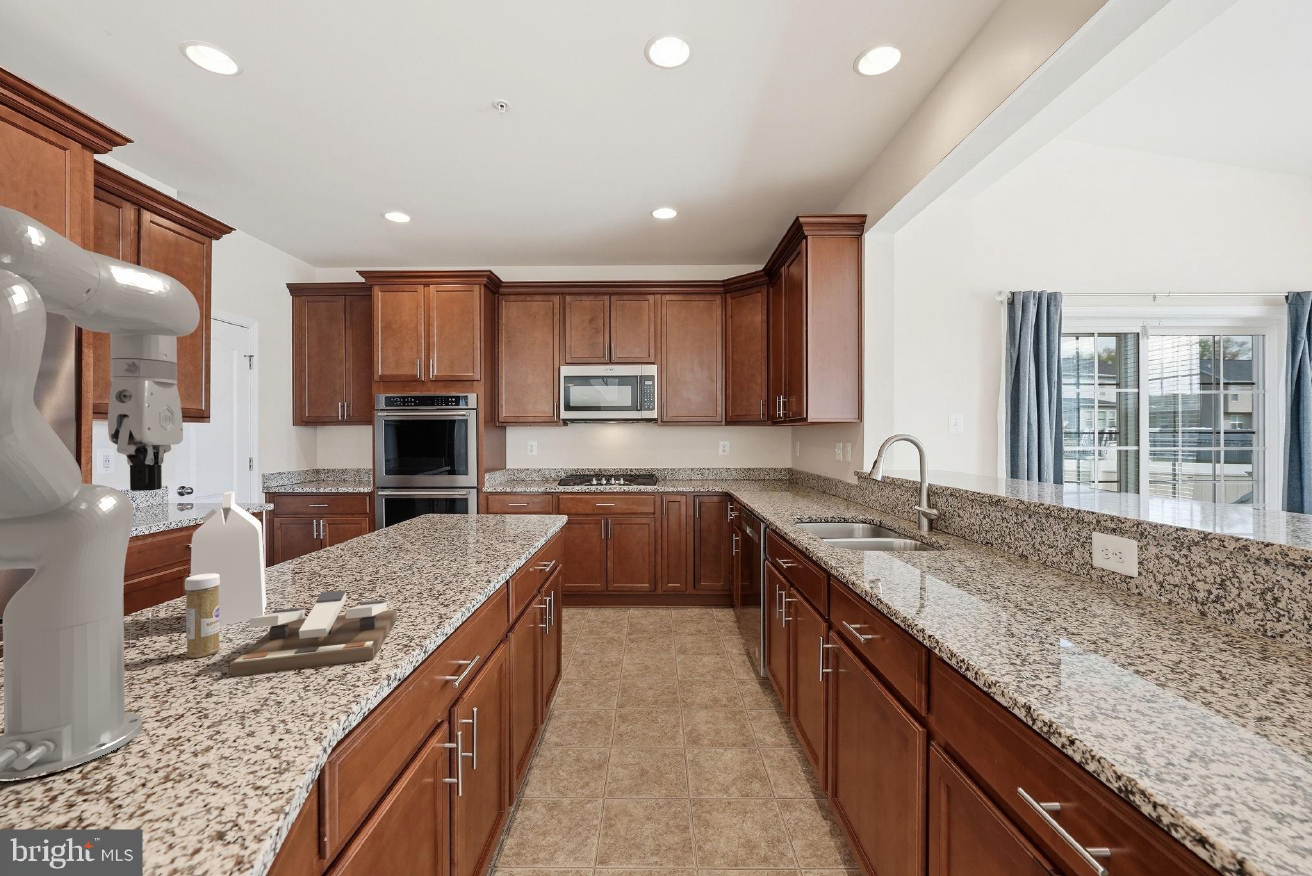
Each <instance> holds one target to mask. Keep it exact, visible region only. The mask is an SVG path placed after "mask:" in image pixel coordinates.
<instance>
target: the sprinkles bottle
mask: <svg viewBox="0 0 1312 876" xmlns="http://www.w3.org/2000/svg"><path fill="white" fill-rule="evenodd" d="M219 584H220V575H219V574H216V573H209V574H200V575H195V576H191V575H190V576H189V577H186V578H185V579H184V590H185V592H186V593H185V595H186V599H185V600H186V604H185V605H186V606H185V629H186V630H185V632H186V633H185V636H186V637H185V638H186V654H185V657H187V658H189V659H196V658H205V657H208V656H211V655H214V654H216V653H217V652H219V651H220V650H221V645H220V629H221V628H220V627H221V626H220V619H219V592H218V591H219V590H218V587H219Z"/></svg>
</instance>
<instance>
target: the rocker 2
mask: <svg viewBox="0 0 1312 876" xmlns="http://www.w3.org/2000/svg"><path fill="white" fill-rule="evenodd" d="M387 607H388V599H382V600H380V599H379V600H371V601H363V602H360V603H359V605H357V606H353V607H350V608H346V609H345V615H346V619H347V618H358V617H368V616H373V615H376V614H378V613H381V612H383V611H388V608H387Z"/></svg>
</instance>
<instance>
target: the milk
mask: <svg viewBox="0 0 1312 876" xmlns="http://www.w3.org/2000/svg"><path fill="white" fill-rule="evenodd" d="M235 494H236V492H235V491H226V492H224V493H223V494H222V505H221V508H220V509H219V510H215V508H212V509H210V510H209V512H207V513H206V514H205V515H204V516H203V517H202V518H201V519H200V520H201V521H202V522H204V523H202V524H201V525H200V526H199V527H198V528H197V529H196V530H195V531H194V532H193V533H192V537H191V547H190V549H191V551H190V552H191V553H190V554H191V555H190V577H191V576H195V575H200V574H209V573H216V574H219V575H220V584H219V587H218V590H219V591H218V592H219V619H220V627H223V626H222V625H226V624H232V623H238V624H240V623H239V622H242V621H249V620H250V618H253V617H258V616H262V615H265V614H264V612H265V613H266V609H265V607H266V608H267V593H266V590H267V588H266V576H265V558H264V557H265V555H264V541H263V540H264V539H263V526H262V522H261V521H260V520H259V519H258V518H256V517H255V516H254V515H252V514H251V513H250V512H248V511H246V510H245V509H244V508H242V507H240V506H239V505H238V504H236V495H235ZM232 625H233V624H232ZM226 626H227V625H226Z"/></svg>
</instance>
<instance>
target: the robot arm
mask: <svg viewBox="0 0 1312 876" xmlns="http://www.w3.org/2000/svg"><path fill="white" fill-rule="evenodd" d="M47 312H48V313H51V314H55V315H61V316H65V317H66V318H67V319H68V321H69V322H71V323H72V324H74V325H75V326H77V327H79V328H81V329H84V330H87V331H90V332H94V333H95V332H96V333H106V334H109V340H110V341H109V342H110V343H109V345H110V347H109V348H110V349H109V350H110V352H109V354H110V357H109V359H110V360H109V361H110V362H109V363H110V365H109V367H110V368H109V369H110V382H111V385H110V393H109V398H108V399H109V401H108V411H107V430H108V432H107V433H108V439H109V441H110V442H111V443H113V444H114V445H116V452H117V453H118V454H122V455H125V456H126V461H127V462H126V463H127V465H128V466H129V489H130V491H132V492H139V491H140V492H141V491H142V492H143V491H157V490H161V489H162V487H163V486H162V483H163V480H162V478H163V477H162V476H163V475H162V474H163V473H162V465H163V463H164V461H165V459H164V457H165V454H167V453H168V452H171V450H172V445H173V446H175V445H179V444H180V443H182V442H183V440H184V427H183V414H182V412H183V411H182V404H181V397H180V394H179V390H178V347H177V345H178V339H177V338H178V337H185V336H189V335H190V334H192V333H194V331H196V329H197V328H198V326H199V323H200V319H201V315H200V314H201V313H200V307H199V303H198V302H197V299H196V298H195V296H194V294H193V293H192V292H191V291H190V290H189V289H188V288H187V287H186V286H185V285H184V284H182V283H181V282H180V281H179V280H177V279H175V278H174V277H172V276H170V275H168V274H166V273H163V272H161V271H157V270H154V269H151V268H148V267H144V266H141V265H137V264H134V263H130V262H128V261H124V260H121V259H118V258H115V257H111V256H109V255H105V254H102V253H97V252H95V251H90V250H87V249H84V248H83V247H81V246H80V245H78V244H76V243H74V242H73V241H71V240H69V239H68V238H66V237H65V236H63V235H61V234H60V233H58V232H57V231H56V230H53V229H51V228H50V227H48V226H47V225H45V224H43V223H42V222H40V221H38V220H37V219H34V218H33V217H31V216H29V215H27V214H25V213H24V212H20V211H18V210H16V209H13V208H10V207H7V206H3V205H0V571H5V570H7V571H8V570H16V569H19V570H22V569H23V570H24V569H25V570H26V569H34V570H35V571H34V573H33V575H32V576H31V577H30V578H29V579H28V580H27V581H26V582H25V583H24V584H23V585H22V586H21V587H20V588H19V589H18V590H17V591H16V592H15V593H14V594H13V595H12V597H10V599H9V601H8V602H7V604H6V606H5V608H4V610H3V615H2V643H3V644H2V647H3V648H2V650H3V652H2V657H3V659H2V663H3V664H2V665H3V727H4V728H3V731H4V732H3V733H4V734H3V735H1V736H0V779H13V778H14V779H16V778H24V777H26V776H33V775H35V774H41V773H44V772H50V771H54V770H56V769H61V768H64V767H68V766H70V765H75V764H77V763H82V762H87V761H88V760H92V759H94V758H97V757H99V756H101V757H103V756H102V755H104V756H105V754H106V755H108V754H110V753H112V752H114V751H116V750H117V748H118V749H119V748H121V747H123V746H124V745H126V744H127V743H129V742H131V741H132V740H133V739H134V738H135V737H137V735H138V734H140V732H141V731H142V729H143V718H142V716H141V715H140V714H137V713H135V712H130V711H126V710H125V709H126V708H125V707H126V703H125V701H126V699H125V698H126V697H125V696H126V695H125V692H126V691H125V688H126V687H125V619H124V617H125V614H124V611H125V609H124V607H125V606H124V587H125V586H124V585H125V584H124V583H125V582H124V581H125V566H126V565H125V564H126V560H127V559H126V558H127V552H128V548H129V542H130V538H131V533H132V530H133V529H132V528H133V524H134V523H133V522H134V507H133V503H132V501H131V499H130V498H129V497H128V496H127V495H126V494H125V493H124V492H122V491H121V490H119V489H116V488H113V487H111V486H107V485H101V484H95V483H83V477H82V472H81V468H80V466H79V463H78V462H77V461H76V459H75V457H74V455H73V453H72V452H71V451H70V450H69V448H68V447H67V446H66V445H65V443H64V442H63V441H62V439H61V438H60V437H59V435H58V434H57V433H56V432H55V430H54V429H53V428H52V426H51V425H50V424H49V423H48V421H47V420H46V419H45V418H44V416H43V415H42V414H41V412H40V411H39V409H38V408H37V406H36V404H35V400H34V395H35V394H34V393H35V388H36V383H37V379H38V376H39V371H40V367H41V362H42V356H43V351H44V349H45V348H44V347H45V340H46V332H47V322H48V321H47V319H48V318H47ZM113 750H114V751H113ZM111 751H112V752H111ZM107 753H108V754H107ZM99 758H100V757H99ZM97 759H98V758H97ZM92 761H93V760H92ZM87 763H88V762H87Z"/></svg>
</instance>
